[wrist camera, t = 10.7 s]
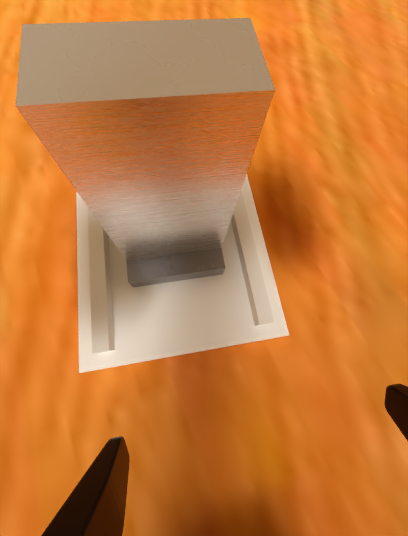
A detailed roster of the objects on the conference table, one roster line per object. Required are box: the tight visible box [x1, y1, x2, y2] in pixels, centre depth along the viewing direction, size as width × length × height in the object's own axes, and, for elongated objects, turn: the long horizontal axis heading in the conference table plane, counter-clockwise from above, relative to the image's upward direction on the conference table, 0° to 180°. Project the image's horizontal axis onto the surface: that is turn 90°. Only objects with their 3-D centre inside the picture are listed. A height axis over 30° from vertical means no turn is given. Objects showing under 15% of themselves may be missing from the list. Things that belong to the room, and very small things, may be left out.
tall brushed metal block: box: [16, 18, 275, 287], centre depth 13 cm, size 6×6×12 cm
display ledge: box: [76, 174, 289, 373], centre depth 19 cm, size 16×14×3 cm
